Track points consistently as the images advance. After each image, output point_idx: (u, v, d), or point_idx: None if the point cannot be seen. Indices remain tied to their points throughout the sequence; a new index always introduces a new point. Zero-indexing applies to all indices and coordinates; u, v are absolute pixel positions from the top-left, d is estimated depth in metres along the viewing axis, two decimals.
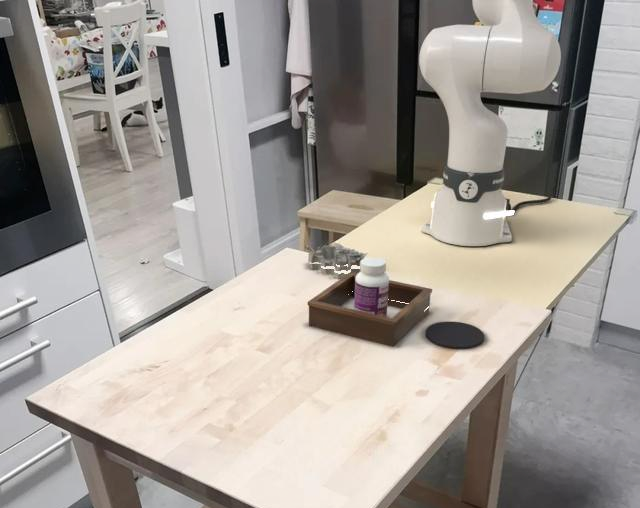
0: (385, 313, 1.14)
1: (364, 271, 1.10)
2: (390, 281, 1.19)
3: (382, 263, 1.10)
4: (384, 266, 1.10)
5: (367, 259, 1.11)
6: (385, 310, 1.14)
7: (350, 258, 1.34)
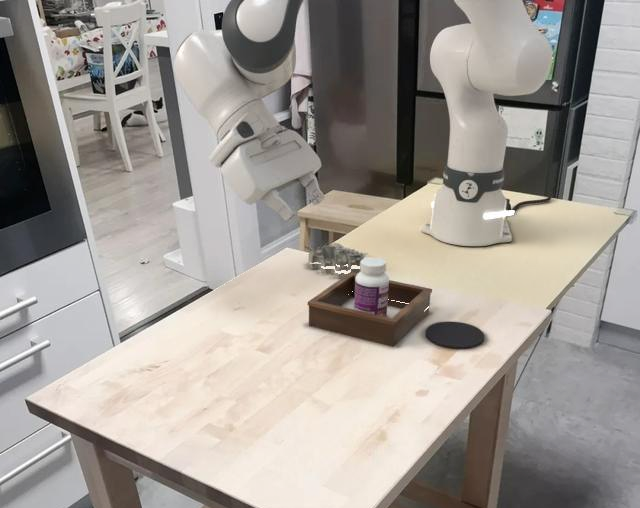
0: (385, 313, 1.14)
1: (364, 271, 1.10)
2: (390, 281, 1.19)
3: (382, 263, 1.10)
4: (384, 266, 1.10)
5: (367, 259, 1.11)
6: (385, 310, 1.14)
7: (350, 258, 1.34)
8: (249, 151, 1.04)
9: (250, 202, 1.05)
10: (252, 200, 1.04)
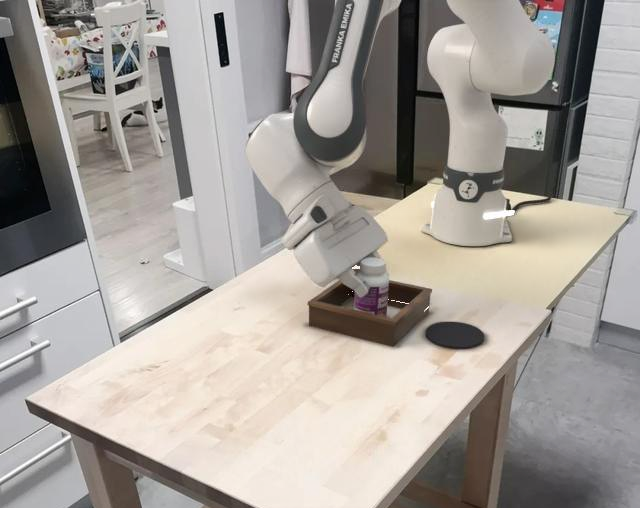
0: (385, 313, 1.14)
1: (364, 271, 1.10)
2: (390, 281, 1.19)
3: (382, 263, 1.10)
4: (384, 266, 1.10)
5: (367, 259, 1.11)
6: (385, 310, 1.14)
7: None
8: (322, 235, 1.05)
9: (323, 285, 1.06)
10: (325, 283, 1.05)
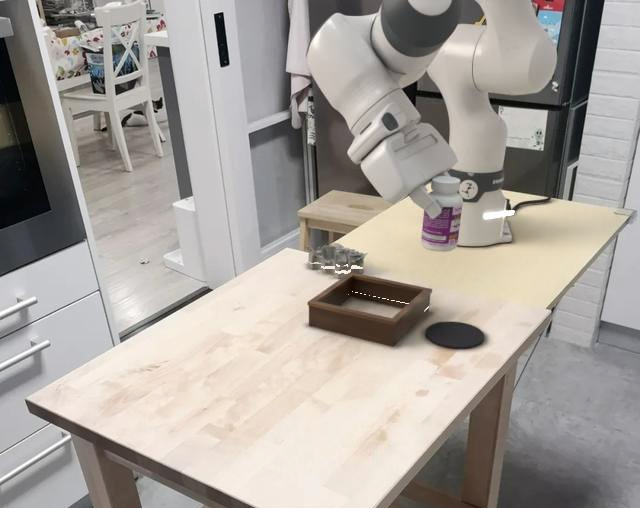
0: (457, 239, 1.03)
1: (436, 189, 0.99)
2: (390, 281, 1.19)
3: (457, 180, 0.99)
4: (459, 184, 0.99)
5: (439, 177, 1.01)
6: (457, 235, 1.03)
7: (350, 258, 1.34)
8: (394, 145, 0.94)
9: (394, 201, 0.95)
10: (397, 199, 0.94)
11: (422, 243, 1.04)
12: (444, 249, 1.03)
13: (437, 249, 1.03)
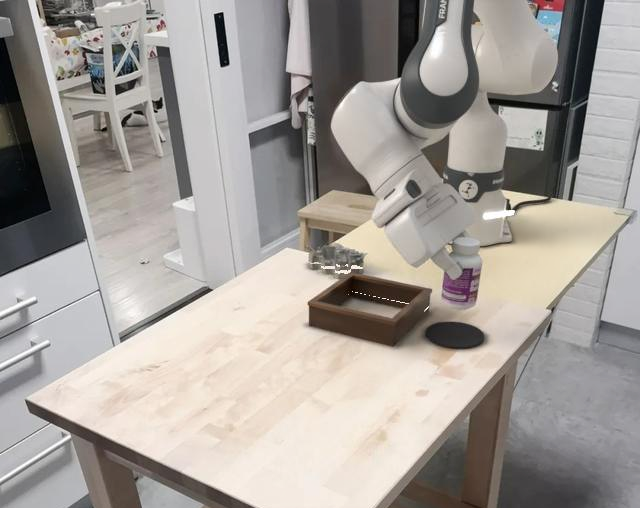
0: (476, 297, 1.06)
1: (457, 251, 1.02)
2: (390, 281, 1.19)
3: (477, 243, 1.02)
4: (479, 246, 1.02)
5: (459, 239, 1.04)
6: (476, 294, 1.06)
7: (350, 258, 1.34)
8: (417, 211, 0.97)
9: (417, 265, 0.98)
10: (420, 263, 0.97)
11: (442, 301, 1.07)
12: (464, 307, 1.06)
13: (457, 307, 1.06)
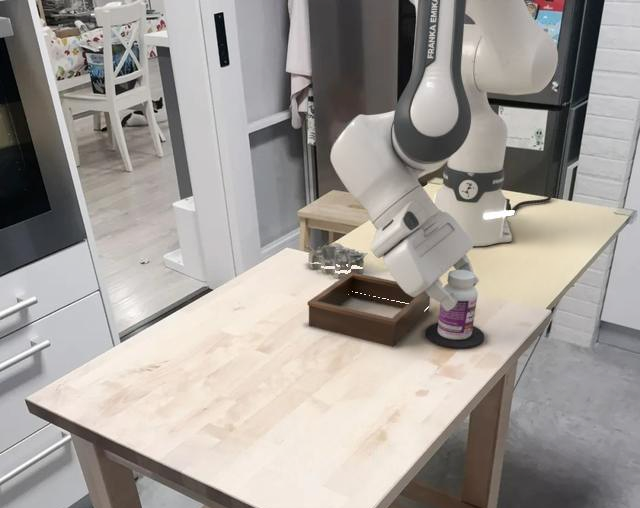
0: (472, 328, 1.09)
1: (453, 284, 1.05)
2: (390, 281, 1.19)
3: (472, 276, 1.05)
4: (474, 279, 1.05)
5: (455, 271, 1.06)
6: (472, 324, 1.09)
7: (350, 258, 1.34)
8: (414, 242, 1.00)
9: (415, 295, 1.00)
10: (417, 293, 1.00)
11: (439, 331, 1.10)
12: (460, 338, 1.08)
13: (453, 338, 1.08)
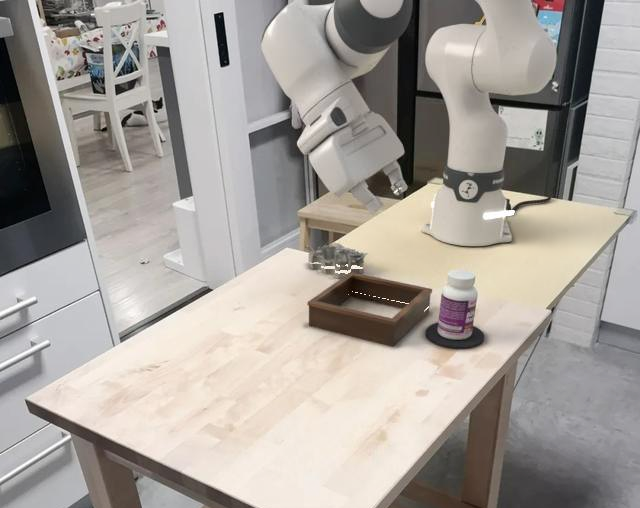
0: (472, 328, 1.09)
1: (453, 284, 1.05)
2: (390, 281, 1.19)
3: (472, 276, 1.05)
4: (474, 279, 1.05)
5: (455, 271, 1.06)
6: (472, 324, 1.09)
7: (350, 258, 1.34)
8: (341, 140, 0.98)
9: (339, 195, 1.00)
10: (342, 193, 0.99)
11: (439, 331, 1.10)
12: (460, 338, 1.08)
13: (453, 338, 1.08)
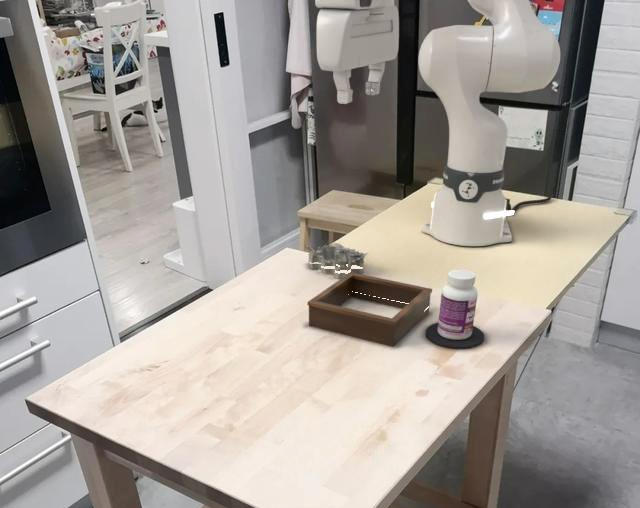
0: (472, 328, 1.09)
1: (453, 284, 1.05)
2: (390, 281, 1.19)
3: (472, 276, 1.05)
4: (474, 279, 1.05)
5: (455, 271, 1.06)
6: (472, 324, 1.09)
7: (350, 258, 1.34)
8: (355, 20, 0.96)
9: (323, 69, 0.99)
10: (326, 69, 0.98)
11: (439, 331, 1.10)
12: (460, 338, 1.08)
13: (453, 338, 1.08)
